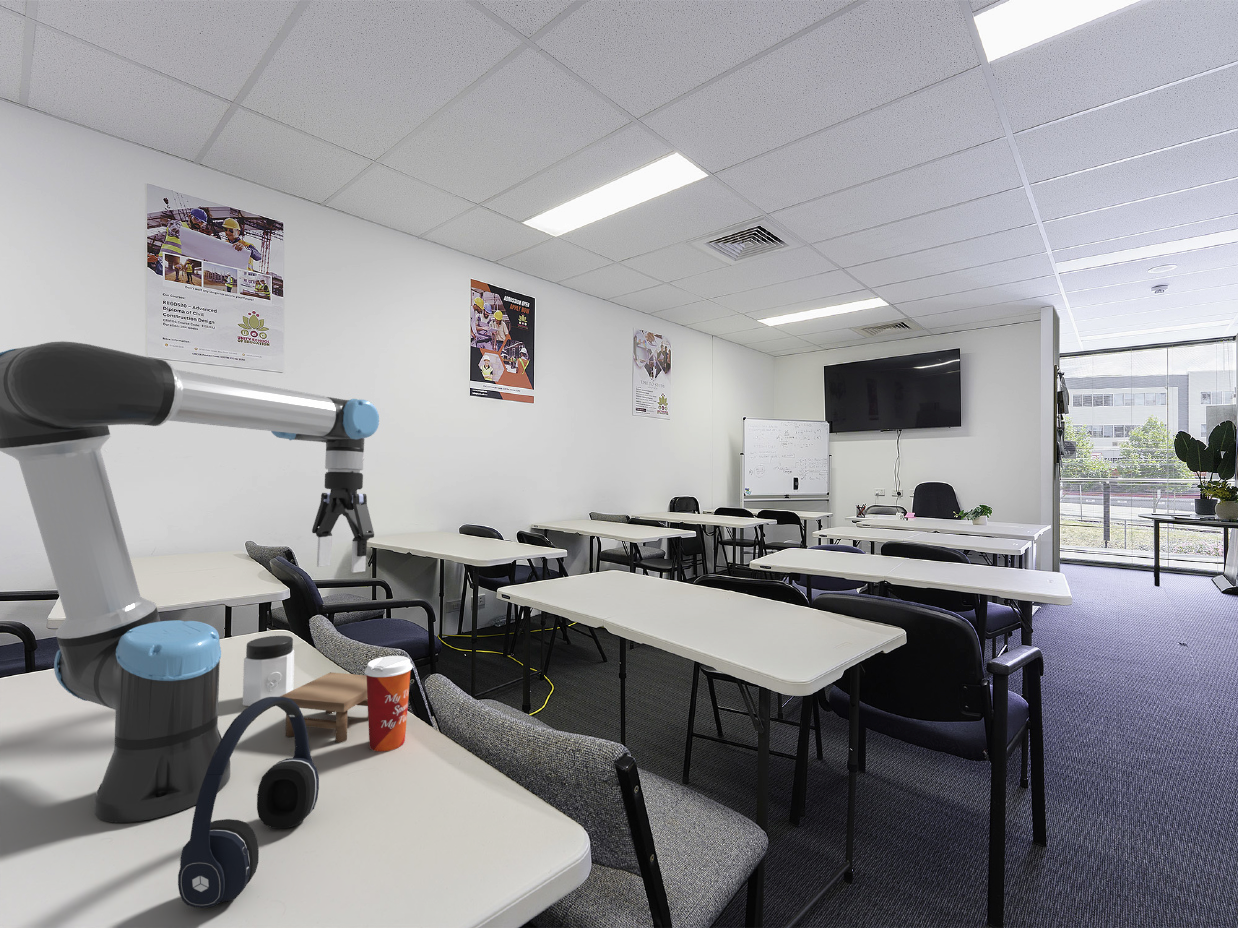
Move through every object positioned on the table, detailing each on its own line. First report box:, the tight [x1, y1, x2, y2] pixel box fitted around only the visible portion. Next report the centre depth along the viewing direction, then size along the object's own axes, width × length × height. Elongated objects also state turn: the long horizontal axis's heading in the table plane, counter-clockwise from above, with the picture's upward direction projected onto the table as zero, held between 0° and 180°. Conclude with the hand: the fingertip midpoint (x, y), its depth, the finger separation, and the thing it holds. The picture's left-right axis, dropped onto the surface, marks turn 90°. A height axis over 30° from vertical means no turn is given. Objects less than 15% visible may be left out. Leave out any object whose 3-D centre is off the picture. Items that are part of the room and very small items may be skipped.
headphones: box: [177, 697, 320, 909], centre depth 67 cm, size 20×7×18 cm, turn 2°
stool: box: [280, 672, 368, 744], centre depth 103 cm, size 13×13×7 cm
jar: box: [242, 635, 295, 707], centre depth 115 cm, size 9×8×12 cm
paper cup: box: [363, 655, 414, 753], centre depth 96 cm, size 8×8×14 cm
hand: (340, 568), depth 122 cm, fingers open, 13 cm apart
